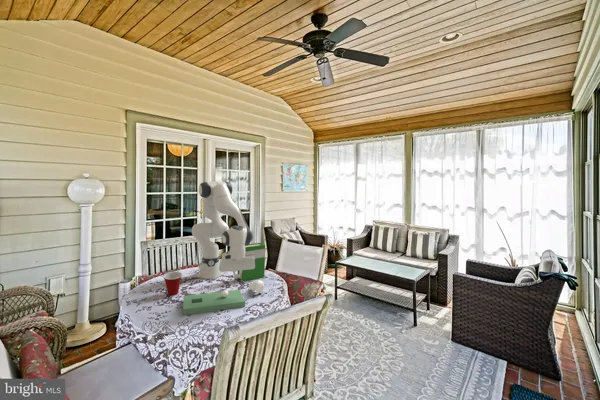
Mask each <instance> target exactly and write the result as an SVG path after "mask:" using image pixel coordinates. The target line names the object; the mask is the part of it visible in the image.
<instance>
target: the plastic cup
mask: <svg viewBox="0 0 600 400" xmlns="http://www.w3.org/2000/svg"><path fill="white" fill-rule="evenodd" d="M182 276H183V272H181V271H170V272H166V273H164V275H162V277H163V279H164V282H165V288H166V290H167V291H166V292H167V295H168V296H176V295H178V294H179V291H180V285H181V280H182Z"/></svg>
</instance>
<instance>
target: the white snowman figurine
mask: <svg viewBox="0 0 600 400" xmlns="http://www.w3.org/2000/svg"><path fill="white" fill-rule="evenodd" d="M248 287H249V291H250V292H251V291H252V292H253V293H254V294H253V295H254V296H257V295H258V294H263V291H264V289H265V284H264V281H262V280H260V279H256V280H254V281H253V282H252V283H250V284H249V286H248Z"/></svg>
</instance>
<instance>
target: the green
mask: <svg viewBox="0 0 600 400" xmlns="http://www.w3.org/2000/svg"><path fill="white" fill-rule="evenodd" d="M227 291H228V296H227V297H225V298H224V297H222V296H221V293H222V291H215V292H207V293H198V294H190V295H183V303H182V306H183V307H182V309H183V310H182V312H183V313H182V314H183V316H184V315H186V316H187V315H194V314H201V313H207V312H213V311H214V312H215V311H222V310H228V309H229V310H230V309H236V308H243V307H246V300H245V298H244V296H243V294H242V292H241V290H240V289H233V290H227Z"/></svg>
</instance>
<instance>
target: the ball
mask: <svg viewBox="0 0 600 400" xmlns="http://www.w3.org/2000/svg"><path fill="white" fill-rule="evenodd" d="M228 291H229V290H227V289H226V290H225V289H224V290H222V291H221V292H222V293H221V296H222V297H224V298H225V297H227V296H228Z"/></svg>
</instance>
